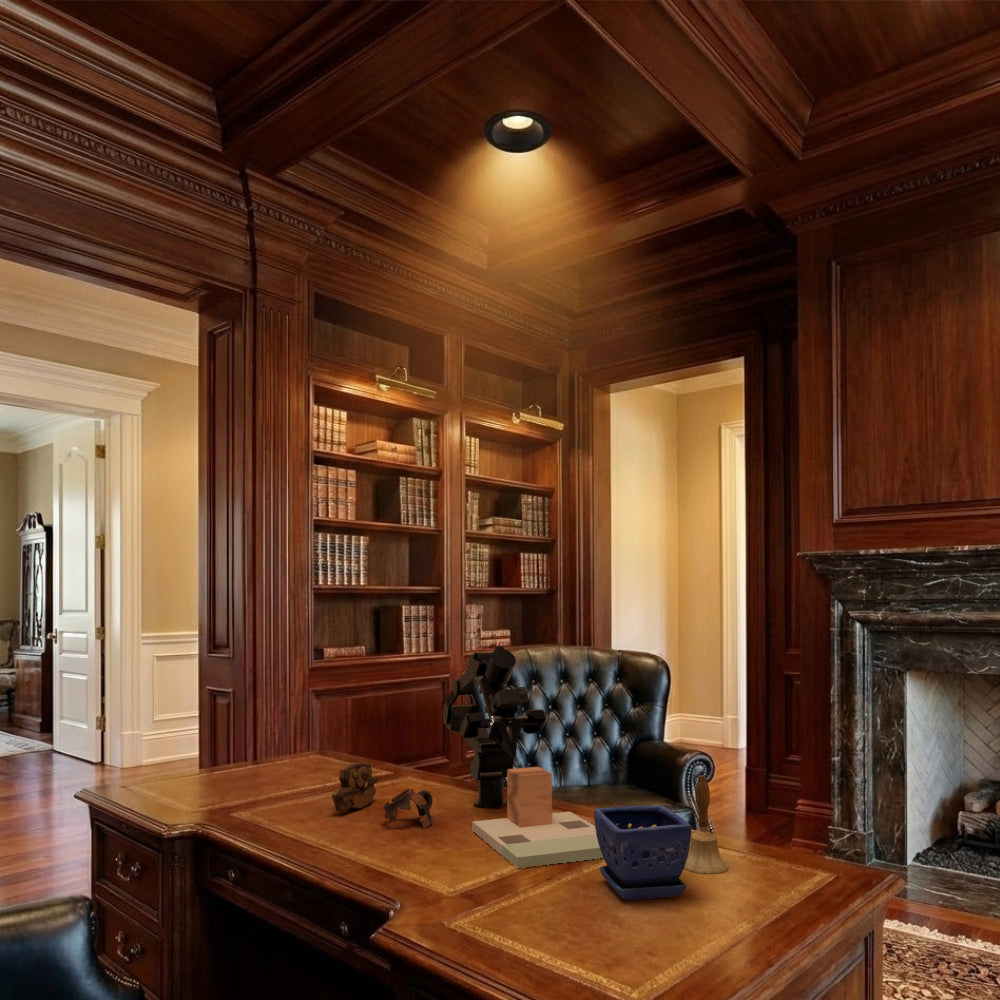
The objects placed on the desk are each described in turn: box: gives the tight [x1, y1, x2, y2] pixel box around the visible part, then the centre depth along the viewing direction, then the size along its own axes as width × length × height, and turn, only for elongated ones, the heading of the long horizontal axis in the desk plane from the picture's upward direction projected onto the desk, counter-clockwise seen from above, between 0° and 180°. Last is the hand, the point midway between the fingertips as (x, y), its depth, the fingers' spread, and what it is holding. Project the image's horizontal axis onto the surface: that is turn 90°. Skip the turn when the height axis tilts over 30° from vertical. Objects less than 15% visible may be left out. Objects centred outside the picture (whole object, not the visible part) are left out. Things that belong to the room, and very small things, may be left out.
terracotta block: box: [506, 766, 553, 827], centre depth 177 cm, size 7×7×10 cm
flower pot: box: [593, 804, 692, 901], centre depth 144 cm, size 13×13×12 cm
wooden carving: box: [331, 761, 379, 812], centre depth 195 cm, size 16×5×10 cm, turn 162°
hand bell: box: [684, 774, 729, 875], centre depth 155 cm, size 8×8×16 cm
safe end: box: [501, 834, 604, 869], centre depth 161 cm, size 8×22×2 cm, turn 111°
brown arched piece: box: [382, 787, 433, 829], centre depth 183 cm, size 12×10×8 cm
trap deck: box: [471, 811, 596, 856], centre depth 172 cm, size 17×22×2 cm
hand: (513, 755), depth 186 cm, fingers closed
